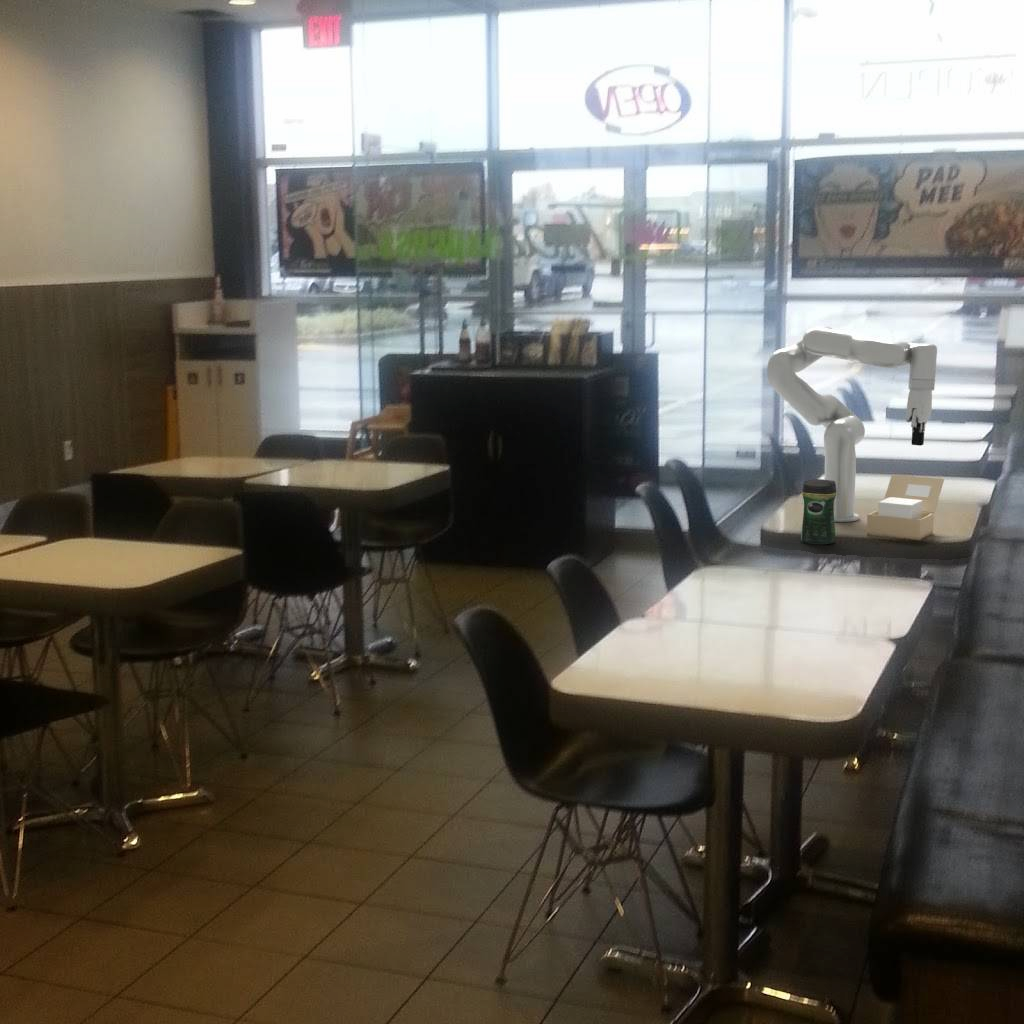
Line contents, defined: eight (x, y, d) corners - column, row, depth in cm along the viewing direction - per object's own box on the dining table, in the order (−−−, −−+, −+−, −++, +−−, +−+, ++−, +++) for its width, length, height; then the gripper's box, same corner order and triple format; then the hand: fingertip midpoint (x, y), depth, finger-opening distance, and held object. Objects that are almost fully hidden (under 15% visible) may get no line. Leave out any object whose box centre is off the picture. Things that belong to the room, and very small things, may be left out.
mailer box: (866, 534, 400) (868, 501, 398) (880, 527, 410) (882, 495, 408) (919, 540, 391) (921, 506, 389) (932, 533, 400) (934, 500, 399)
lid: (891, 474, 413) (892, 475, 413) (881, 506, 408) (882, 508, 409) (943, 478, 404) (944, 479, 404) (933, 512, 399) (934, 513, 400)
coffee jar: (837, 541, 391) (840, 478, 388) (830, 546, 384) (832, 482, 381) (805, 538, 396) (807, 476, 392) (797, 543, 389) (799, 480, 385)
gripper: (917, 381, 411) (913, 440, 415) (900, 386, 399) (896, 446, 403) (941, 383, 407) (937, 443, 411) (925, 387, 395) (921, 449, 399)
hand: (917, 444), depth 407 cm, fingers closed
